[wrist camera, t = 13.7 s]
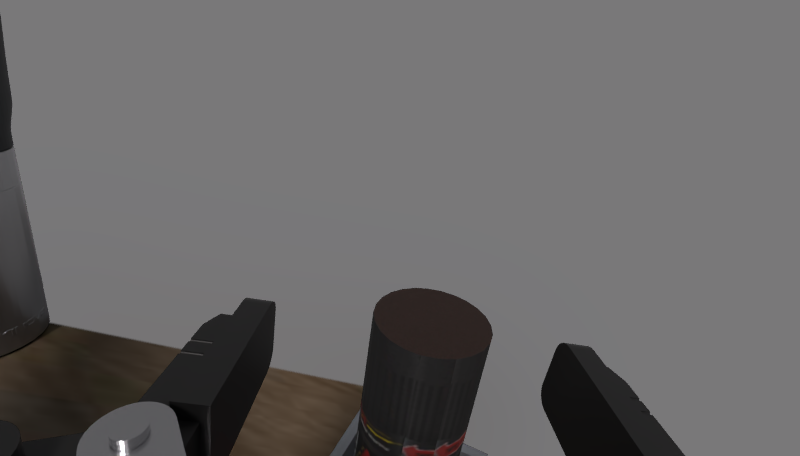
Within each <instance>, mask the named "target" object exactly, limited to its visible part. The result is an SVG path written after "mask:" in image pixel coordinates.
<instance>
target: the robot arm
mask: <svg viewBox="0 0 800 456" xmlns="http://www.w3.org/2000/svg"><path fill="white" fill-rule="evenodd" d="M11 115H12V98H11V91H10V85H9V78H8V71H7V65H6V57H5V49H4V41H3V32H2V24H1V16H0V356H2V355H5V354H7V353H10V352H12V351H14V350H16V349H18V348H20V347H22V346H24V345H26V344H27V343H29V342H31V341H33V340H34V339H35V338H37V337H38V336H39V335H40V334H42V333H43V331H44V330H45V329H46V328H47V326H48V324H49V322H50V320H49V313H48V308H47V304H46V299H45V294H44V289H43V283H42V278H41V273H40V269H39V264H38V259H37V254H36V249H35V245H34V240H33V235H32V230H31V225H30V221H29V216H28V211H27V206H26V201H25V197H24V192H23V187H22V182H21V178H20V174H19V169H18V164H17V160H16V154H15V150H14V147H13V141H12V135H11ZM275 308H276V307H275V302H273V301H266V300H258V299H251V298H245V299H244V300H243V302H242V303H241V304H240V306H239V307H238V308H237V310H236V311H235V312H234V314H233V315H225V314H220V315H218V316H216V317H215V318H213V319H211V320H209V321H208V322H206V323H204V324H203V325H202V326H201V327H200V328H199V330H198V331H197V332H196V333H195V334H194V336H193V337H192V338H191V341H189V342H188V343H187V344H186V345H185V346H184V348H183V349H182V350H181V353H180V354H178V355H177V356H176V357H175V358H174V360H173V361H172V362H171V363H170V364H169V366H168V367H167V368H166V369H165V370H164V372H163V373H162V374H161V375H160V376H159V378H158V379H157V380H156V381H155V382H154V383H153V385H152V386H151V387H150V388H149V389H148V391H147V392H146V393H145V394H144V395H143V397H142V398H141V399H140V400H139V401H138V402H137V403H133V404H129V405H126V406H123V407H120V408H118V409H115V410H113V411H111V412H109V413H108V414H106V415H104V416H103V417H101V418H100V419H98V420H97V421H96V422H95V423H93V424H92V425H91V426H90V427H89V428H88V429H87V431H86V432H83V433H78V434H73V435H66V436H60V437H53V438H46V439H40V440H33V441H26V442H22V440H21V436H20V432H19V429H18V428H17V427H16V426H15V425H14V424H12V423H10V422H7V421H2V420H0V456H229V454H230V452H231V450H232V448H233V445H234V443H235V441H236V439H237V437H238V435H239V432H240V430H241V428H242V426H243V424H244V422H245V419H246V417H247V415H248V413H249V411H250V409H251V406H252V404H253V402H254V400H255V398H256V395H257V393H258V391H259V389H260V387H261V385H262V382H263V380H264V378H265V376H266V374H267V371H268V369H269V365H270V362H271V358H272V352H273V340H274V325H275V310H276V309H275ZM541 399H542V405H543V408H544V411H545V412H546V415H547V417H548V419H549V421H550V423H551V425H552V427H553V430H554V431H555V434H556V436H557V438H558V440H559V442H560V444H561V447H562V449H563V451H564V453H565V455H566V456H685V455H684V454H683V453H682V451H681V450H680V449H679V448H678V446H677V445H676V444H675V443H674V441H673V440H672V439H671V438H670V436H669V435H668V434H667V433H666V431H665V430H664V429H663V428H662V426H661V425H660V424H659V423H658V421H657V420H656V419H655V418H654V416H653V415H650V411H649V410H648V409H647V408H646V406H645V405H644V404H643V403H642V402H641V401H639V398H638V396H637V395H636V394H635V393H634V392H633V390H632V389H631V388H630V386H629V385H628V384H627V383H626V382H625V381H624V380H623V379H622V378H620V377H619V376H618V375H617V374H616V373H614V372H613V371H612V370H611V369H609V368H608V367H606V366H605V365H604V363H603V362H602V361H601V359H600V358H599V357H598V355H597V354H596V353H595V351H594V350H593V349H592V348H590V347H588V346H582V345H574V344H567V343H561V344H559V345H558V347H557V348H556V351H555V353H554V356H553V359H552V361H551V364H550V366H549V369H548V372H547V374H546V377H545V380H544V382H543V385H542V390H541Z"/></svg>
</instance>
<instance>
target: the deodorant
mask: <svg viewBox="0 0 800 456" xmlns="http://www.w3.org/2000/svg"><path fill="white" fill-rule="evenodd" d="M492 336H493V334H492V329H491V325H490V323H489V321H488V320H487V318H486V316H485V315H483V314H482V313H481V312H480V311H479V310H478V309H477V308H476V307H474V306H473V305H471V304H470V303H468V302H467V301H465V300H463V299H461V298H459V297H457V296H454V295H451V294H448V293H445V292H442V291H437V290H431V289H422V288H411V289H402V290H398V291H394V292H391V293H389V294H388V295H386V296H384V297H382V298H381V299H380V300H379V302H378V303H377V304H376V306H375V309H374V312H373V319H372V328H371V334H370V341H369V349H368V356H367V364H366V371H365V378H364V385H363V392H362V400H361V407H360V414H359V422H358V429H357V436H356V444H355V451H354V456H460V452H461V449H462V445H463V441H464V438H465V434H466V430H467V427H468V423H469V419H470V416H471V412H472V409H473V405H474V401H475V397H476V394H477V390H478V387H479V383H480V379H481V376H482V372H483V368H484V365H485V361H486V357H487V354H488V350H489V347H490V343H491V339H492Z"/></svg>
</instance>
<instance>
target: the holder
mask: <svg viewBox="0 0 800 456" xmlns="http://www.w3.org/2000/svg"><path fill="white" fill-rule="evenodd" d="M359 414H360V410H359V412H358V413H357V415H356V416H355V418H354V419H353V421H352V423H351V424H350V426H349V427H348V429H347V430H346V432H345V433H344V435H343V436H342V438H341V439H340V441H339V442H338V444H337V445H336V447H335V449H334V450H333V452H332V453H331V455H330V456H354V451H355V444H356V436H357V429H358V422H359ZM487 455H488V454H486V453H484V452H482V451H480V450H477V449H475V448H473V447H471V446H468V445H466V444H464V443H463V445H462V449H461V452H460V456H487Z"/></svg>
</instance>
